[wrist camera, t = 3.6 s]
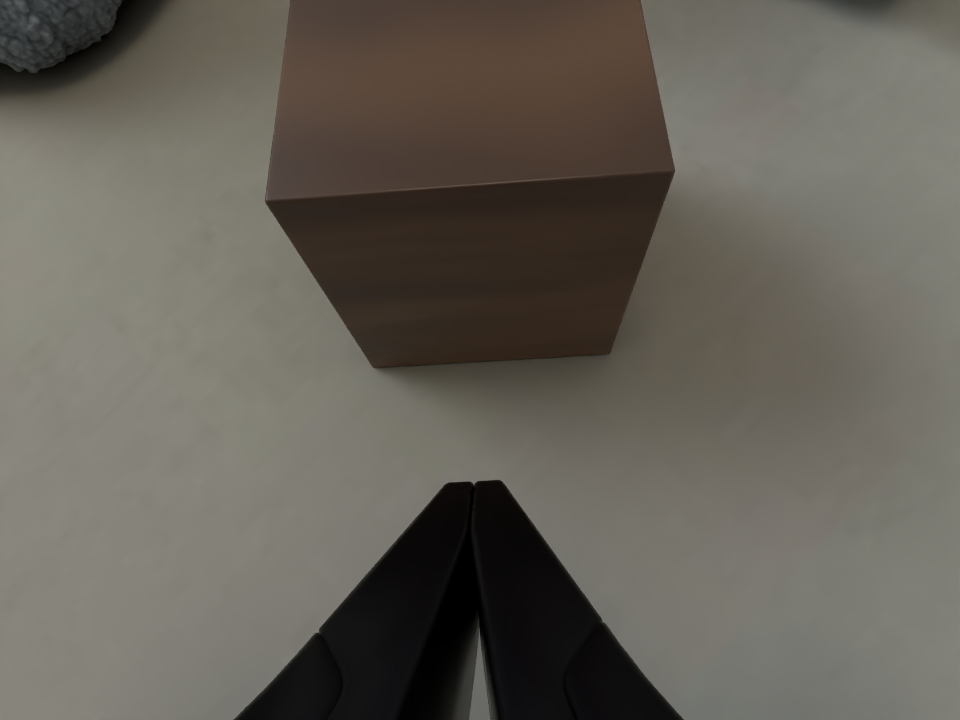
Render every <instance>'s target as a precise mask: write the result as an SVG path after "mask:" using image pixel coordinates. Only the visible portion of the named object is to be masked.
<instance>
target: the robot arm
mask: <svg viewBox="0 0 960 720" xmlns="http://www.w3.org/2000/svg"><path fill="white" fill-rule="evenodd" d="M479 629H480V639H481V649H482V657H483V665H484V672H485V680H486V688H487V696H488V703H489V711H490V719H491V720H684V719H683V718H682V717H681V716H680V715H679V714H678V713H677V712H676V711H675V710H674V708H673V707H672V706H671V705H670V704H669V703H668V702H667V700H666V699H665V698H664V697H663V696H662V695H661V694H660V693H659V691H658V690H657V689H656V688H655V687H654V686H653V685H652V684H651V682H650V681H649V680H648V679H647V678H646V677H645V675H644V674H643V673H642V672H641V670H640V669H639V668H638V666H637V665H636V664H635V663H634V661H633V660H632V659H631V657H630V656H629V655H628V654H627V652H626V651H625V650H624V648H623V647H622V646H621V645H620V643H619V642H618V640H617V639H616V638H615V636H614V635H613V633H612V632H611V631H610V629H609V628H608V626H607V625H606V624H605V623H603V622H602V619H601V617H600V616H599V614H598V613H597V612H596V610H595V609H594V608H593V606H592V605H591V603H590V602H589V601H588V599H587V598H586V596H585V595H584V594H583V592H582V591H581V590H580V588H579V587H578V585H577V584H576V583H575V581H574V580H573V578H572V577H571V576H570V574H569V573H568V572H567V570H566V569H565V567H564V566H563V565H562V563H561V562H560V560H559V559H558V558H557V556H556V555H555V554H554V552H553V551H552V549H551V548H550V547H549V545H548V544H547V542H546V541H545V540H544V538H543V537H542V536H541V534H540V533H539V531H538V530H537V529H536V527H535V526H534V524H533V523H532V522H531V520H530V519H529V518H528V516H527V515H526V513H525V512H524V511H523V509H522V508H521V506H520V505H519V504H518V502H517V501H516V500H515V498H514V497H513V495H512V494H511V493H510V491H509V490H508V488H507V487H506V486H505V484H504V483H503V482H502V481H500V480H490V481H478V482H476V483H475V485H474V484H473V483H472V482H450V483H447V484H445V485H444V486H443V488H442V489H441V490H440V491H439V492H438V493H437V494H436V496H435V497H434V498H433V499H432V500H431V501H430V502H429V504H428V505H427V506H426V507H425V508H424V509H423V510H422V512H421V513H420V514H419V515H418V516H417V517H416V518H415V520H414V521H413V522H412V523H411V524H410V525H409V526H408V528H407V529H406V530H405V531H404V532H403V533H402V535H401V536H400V537H399V538H398V539H397V540H396V541H395V543H394V544H393V545H392V546H391V547H390V548H389V549H388V551H387V552H386V553H385V554H384V555H383V556H382V557H381V559H380V560H379V561H378V562H377V563H376V564H375V565H374V567H373V568H372V569H371V570H370V571H369V572H368V574H367V575H366V576H365V577H364V578H363V579H362V580H361V582H360V583H359V584H358V585H357V586H356V587H355V588H354V590H353V591H352V592H351V593H350V594H349V595H348V596H347V598H346V599H345V600H344V601H343V602H342V603H341V604H340V606H339V607H338V608H337V609H336V610H335V611H334V612H333V614H332V615H331V616H330V617H329V618H328V619H327V621H326V622H325V623H324V624H323V625H322V626H321V627H320V629H319V633H315V634H314V635H313V636H312V637H311V639H310V640H309V641H308V642H307V643H306V644H305V645H304V647H303V648H302V649H301V650H300V651H299V652H298V653H297V655H296V656H295V657H294V658H293V659H292V660H291V661H290V662H289V663H288V664H287V665H286V666H285V668H284V669H283V670H282V671H281V672H280V673H279V674H278V675H277V676H276V677H275V678H274V680H273V681H272V682H271V683H270V684H269V685H268V686H267V687H266V688H265V689H264V690H263V691H262V692H261V693H260V694H259V695H258V696H257V697H256V698H255V699H254V700H253V701H252V702H251V703H250V704H249V705H248V706H247V707H246V708H245V709H244V710H243V711H242V712H241V713H240V714H239V715H238V716H237V717H236V718H235V719H234V720H469V714H470V706H471V698H472V690H473V681H474V673H475V665H476V657H477V647H478V637H479Z"/></svg>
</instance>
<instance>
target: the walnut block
mask: <svg viewBox="0 0 960 720" xmlns="http://www.w3.org/2000/svg"><path fill="white" fill-rule="evenodd" d="M674 173H675V168H674V163H673V158H672V154H671V149H670V144H669V139H668V134H667V129H666V124H665V119H664V114H663V109H662V105H661V100H660V95H659V90H658V85H657V80H656V75H655V70H654V65H653V60H652V56H651V51H650V46H649V41H648V36H647V31H646V26H645V21H644V16H643V12H642V7H641V2H640V0H291V2H290V10H289V17H288V25H287V33H286V41H285V49H284V56H283V64H282V72H281V80H280V88H279V95H278V103H277V111H276V119H275V127H274V134H273V142H272V150H271V158H270V166H269V173H268V181H267V189H266V197H265V202H266V204H267V206H268V207H269V209H270V210H271V212H272V213H273V215H274V216H275V218H276V219H277V221H278V222H279V224H280V226H281V227H282V229H283V230H284V232H285V233H286V235H287V236H288V238H289V239H290V241H291V242H292V244H293V245H294V247H295V248H296V250H297V252H298V253H299V255H300V256H301V258H302V259H303V261H304V262H305V264H306V265H307V267H308V268H309V270H310V271H311V273H312V275H313V276H314V278H315V279H316V281H317V282H318V284H319V285H320V287H321V288H322V290H323V291H324V293H325V294H326V296H327V298H328V299H329V301H330V302H331V304H332V305H333V307H334V308H335V310H336V311H337V313H338V314H339V316H340V317H341V319H342V321H343V322H344V324H345V325H346V327H347V328H348V330H349V331H350V333H351V334H352V336H353V337H354V339H355V340H356V342H357V344H358V345H359V347H360V348H361V350H362V351H363V353H364V354H365V356H366V357H367V359H368V360H369V362H370V363H371V365H372V367H374V368H377V367H394V366H411V365H428V364H445V363H462V362H479V361H496V360H513V359H530V358H547V357H564V356H581V355H598V354H609V353H610V351H611V349H612V346H613V343H614V340H615V338H616V335H617V332H618V329H619V326H620V324H621V321H622V318H623V315H624V312H625V310H626V307H627V304H628V301H629V298H630V296H631V293H632V290H633V287H634V284H635V282H636V279H637V276H638V273H639V270H640V268H641V265H642V262H643V259H644V257H645V254H646V251H647V248H648V245H649V243H650V240H651V237H652V234H653V231H654V229H655V226H656V223H657V220H658V217H659V215H660V212H661V209H662V206H663V203H664V201H665V198H666V195H667V192H668V189H669V187H670V184H671V181H672V178H673V175H674Z"/></svg>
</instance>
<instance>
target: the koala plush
mask: <svg viewBox="0 0 960 720" xmlns="http://www.w3.org/2000/svg"><path fill="white" fill-rule="evenodd" d="M121 3H122V0H0V63H4V64H7V65H9V66H10V67H12V68H13V69H14V70H15V71H19V72H20V71H23V70H24V69H25V68H26V69H27V70H28V71H29V72H31V73H36V72H38V71H39V69H40V68H48V67H52V66H54V65H55V64H57V63H58V62H60V61H64V59H65V58H66V56H67V55H71V54H72V53H76V52H77V51H79V50H81V49H85V48H87V47H89V46H90V45H91V44H92V43H94V42H98V41H101V36H102V35H104V34H107V33H109V31H111V30H112V28H113V25H114V24H115V20H116V11H117V10H118V8H119V6H120V5H121Z"/></svg>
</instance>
